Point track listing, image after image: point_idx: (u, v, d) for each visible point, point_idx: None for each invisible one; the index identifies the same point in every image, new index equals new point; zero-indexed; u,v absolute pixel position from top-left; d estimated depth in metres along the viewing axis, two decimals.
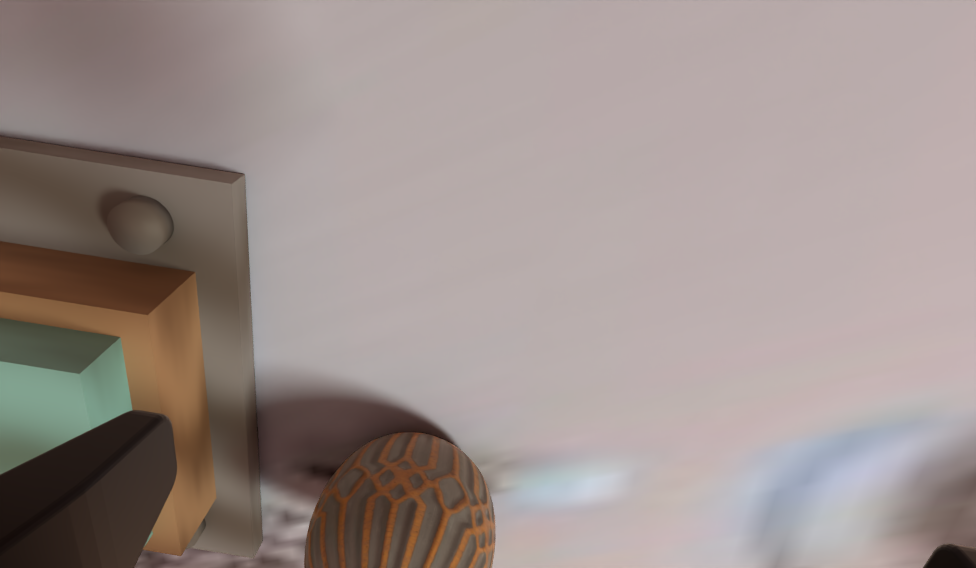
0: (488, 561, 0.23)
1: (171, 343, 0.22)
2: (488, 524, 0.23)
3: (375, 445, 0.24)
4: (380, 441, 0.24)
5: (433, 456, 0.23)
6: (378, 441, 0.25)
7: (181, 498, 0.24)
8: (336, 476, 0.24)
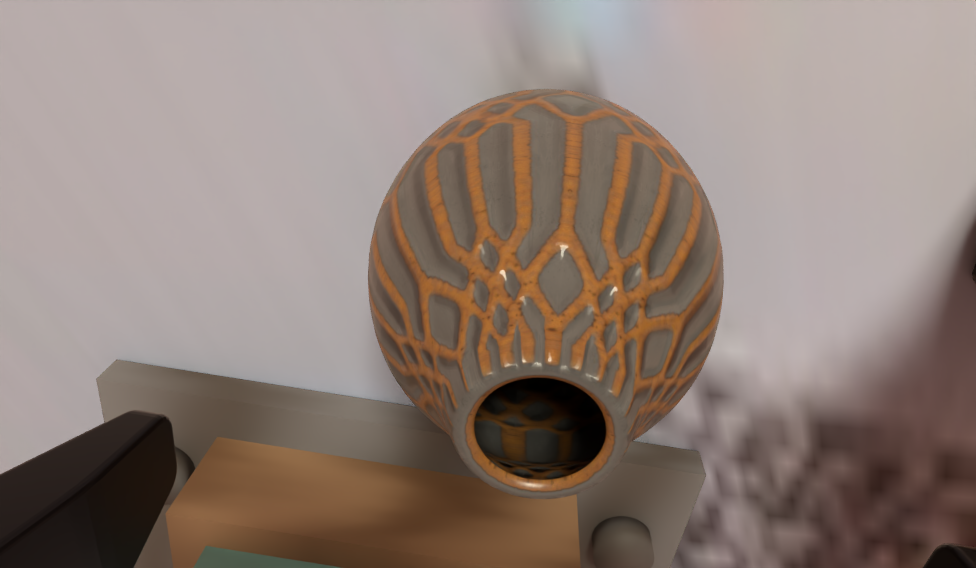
0: (524, 117, 0.11)
1: (247, 493, 0.18)
2: (482, 109, 0.12)
3: None
4: None
5: None
6: None
7: (485, 547, 0.17)
8: None
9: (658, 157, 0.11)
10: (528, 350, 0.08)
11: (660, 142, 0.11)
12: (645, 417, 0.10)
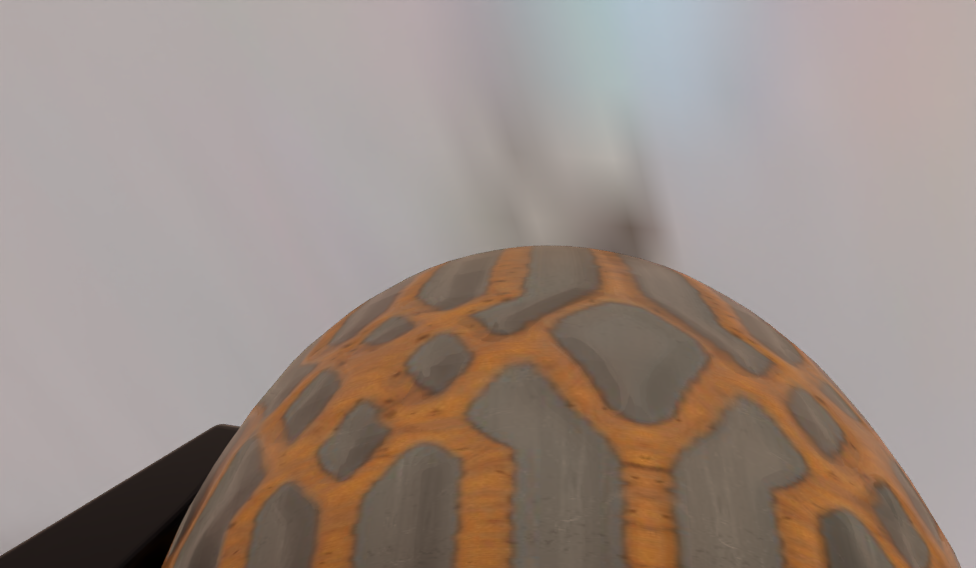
0: (498, 432, 0.04)
1: None
2: (398, 348, 0.05)
3: None
4: None
5: None
6: None
7: None
8: None
9: (889, 550, 0.04)
10: None
11: (864, 461, 0.04)
12: None
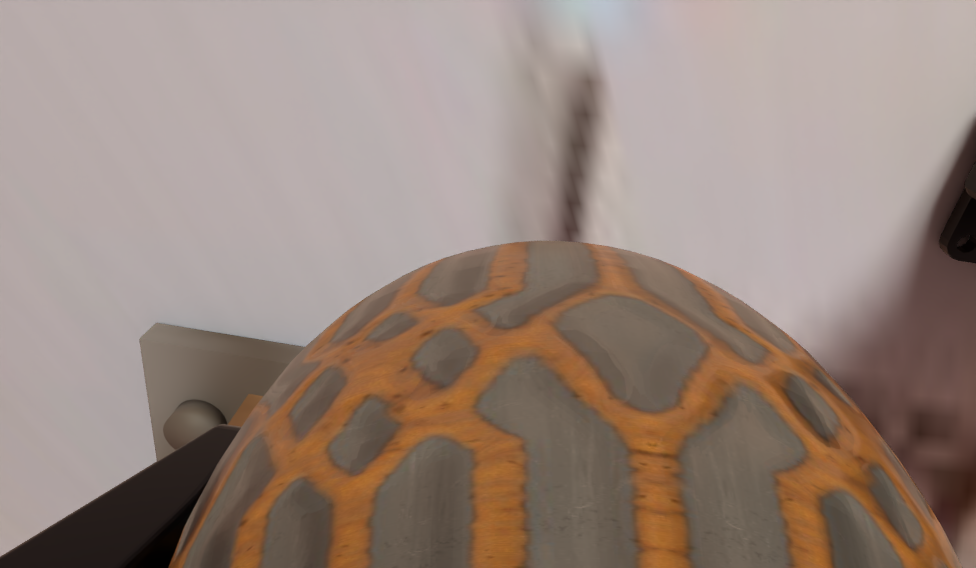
0: (507, 423, 0.04)
1: None
2: (403, 344, 0.05)
3: None
4: None
5: None
6: None
7: None
8: None
9: (886, 529, 0.04)
10: None
11: (859, 444, 0.04)
12: None
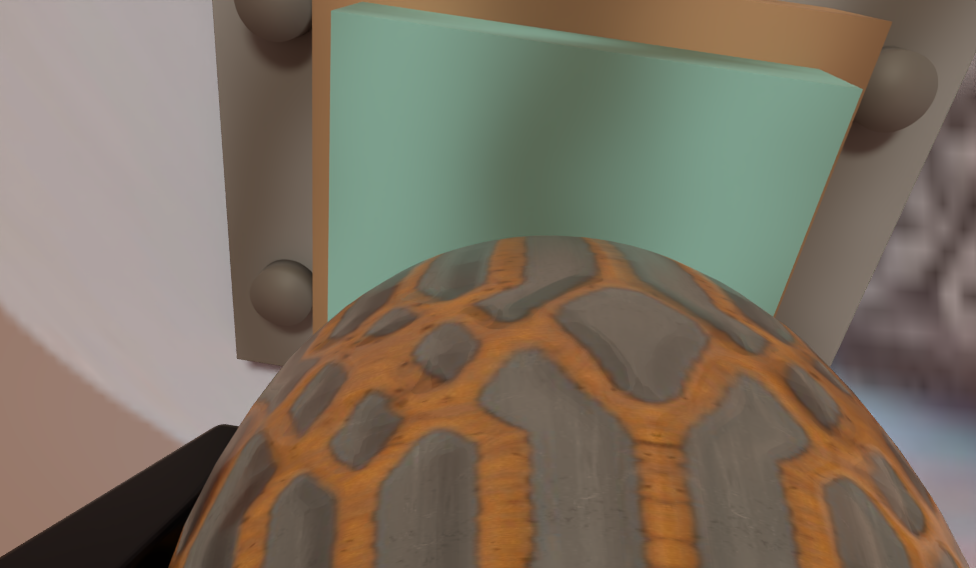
0: (511, 416, 0.04)
1: None
2: (403, 339, 0.05)
3: None
4: None
5: None
6: None
7: None
8: None
9: (889, 515, 0.04)
10: None
11: (860, 432, 0.04)
12: None
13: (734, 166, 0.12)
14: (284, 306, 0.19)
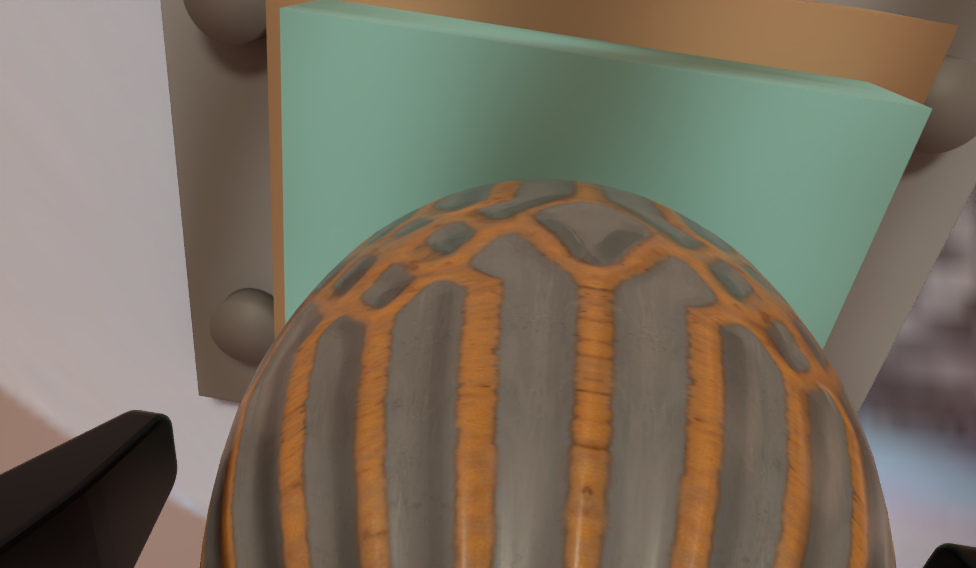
0: (492, 271, 0.05)
1: None
2: (419, 233, 0.06)
3: None
4: None
5: None
6: None
7: None
8: None
9: (774, 354, 0.05)
10: None
11: (767, 306, 0.06)
12: None
13: (771, 199, 0.10)
14: (248, 341, 0.17)
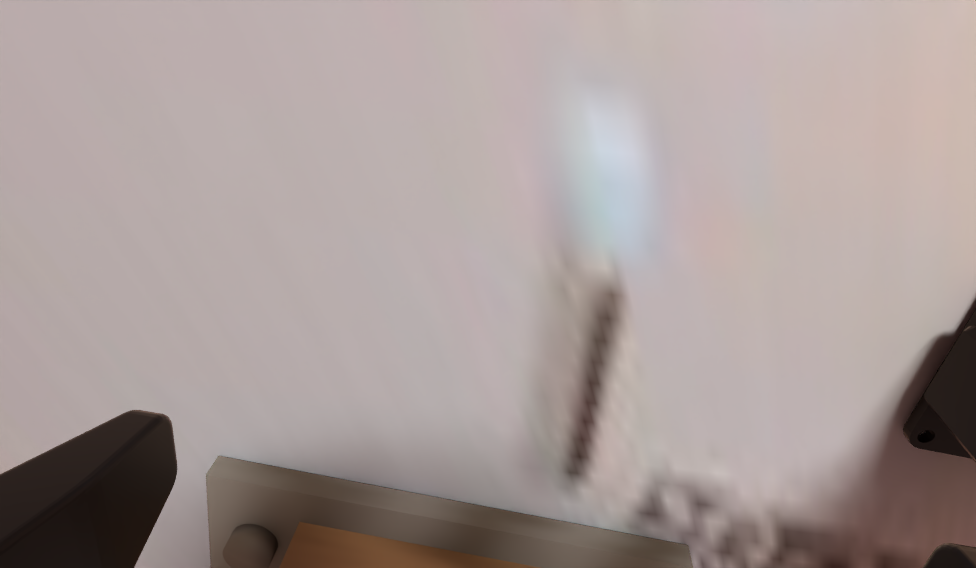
0: None
1: None
2: None
3: None
4: None
5: None
6: None
7: None
8: None
9: None
10: None
11: None
12: None
13: None
14: None
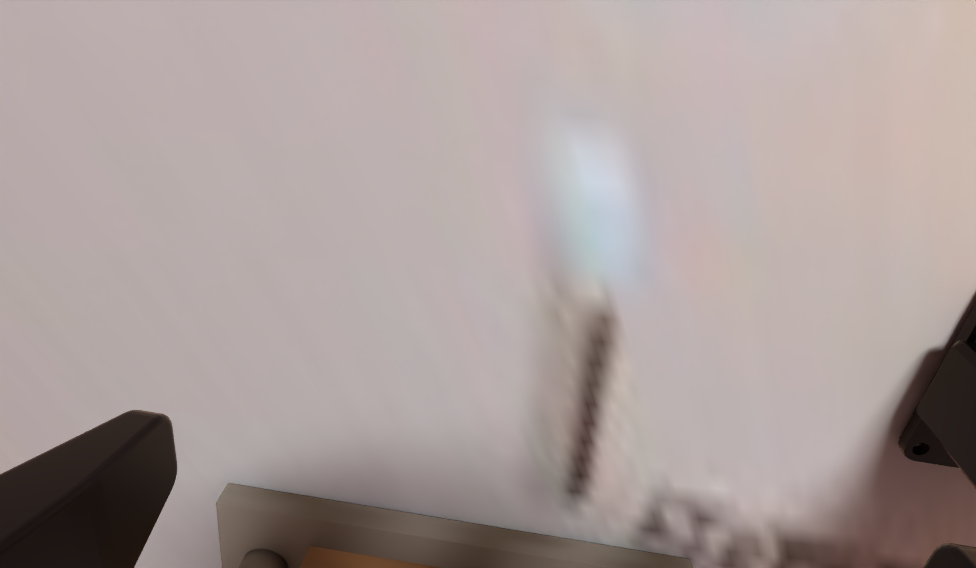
0: None
1: None
2: None
3: None
4: None
5: None
6: None
7: None
8: None
9: None
10: None
11: None
12: None
13: None
14: None
